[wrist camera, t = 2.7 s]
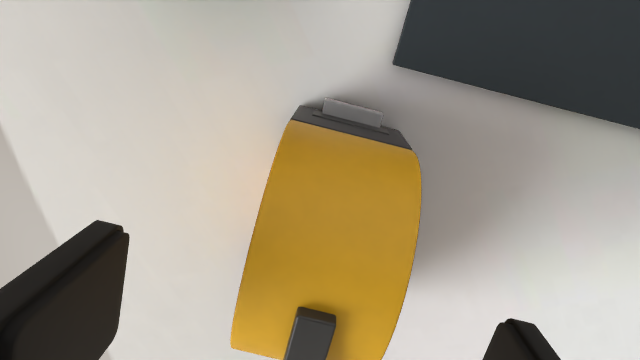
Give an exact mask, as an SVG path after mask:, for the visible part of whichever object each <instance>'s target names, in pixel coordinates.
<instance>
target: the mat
mask: <svg viewBox="0 0 640 360" xmlns="http://www.w3.org/2000/svg"><path fill="white" fill-rule="evenodd" d="M393 65H397V66H400V67H404V68H408V69H412V70H416V71H420V72H423V73H427V74H431V75H435V76H439V77H443V78H446V79H450V80H454V81H458V82H462V83H465V84H469V85H473V86H477V87H481V88H485V89H488V90H492V91H496V92H500V93H504V94H508V95H511V96H515V97H519V98H523V99H527V100H531V101H534V102H538V103H542V104H546V105H550V106H554V107H557V108H561V109H565V110H569V111H573V112H577V113H580V114H584V115H588V116H592V117H596V118H600V119H603V120H607V121H611V122H615V123H619V124H623V125H626V126H630V127H634V128H638V129H640V0H411V2H410V5H409V9H408V12H407V16H406V19H405V23H404V26H403V29H402V33H401V36H400V40H399V43H398V47H397V50H396V54H395V57H394V60H393Z"/></svg>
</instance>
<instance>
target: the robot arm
mask: <svg viewBox="0 0 640 360" xmlns="http://www.w3.org/2000/svg"><path fill="white" fill-rule="evenodd" d="M128 246H129V234H128V233H124V232H123V227H122V226H120V225H116V224H112V223H108V222H104V221H99V220H97V221H94V222H93V223H92V224H90V225H89V226H87V227H86V228H85V229H83V230H82V231H80V232H79V233H78V234H76V235H75V236H73V237H72V238H71V239H69V240H68V241H66V242H65V243H64V244H62V245H61V246H59V247H58V248H57V249H55V250H54V251H52V252H51V253H50V254H49V255H47V256H46V257H44V258H43V259H41V260H40V261H39V262H37V263H36V264H35V265H33V266H32V267H30V268H29V269H27V270H26V271H25V272H23V273H22V274H20V275H19V276H18V277H16V278H15V279H13V280H12V281H11V282H9V283H8V284H6V285H5V286H4V287H2V288H1V289H0V360H99V358H100V357H101V356H102V354H103V353H104V352H105V350H106V349H107V348H108V346H109V345H110V344H111V342H112V341H113V339H114V337H115V335H116V333H117V329H118V324H119V317H120V309H121V301H122V293H123V285H124V277H125V270H126V262H127V254H128ZM483 360H561V359H560V358H559V357H558V355H557V354H556V353H555V351H554V350H553V348H552V347H551V346H550V344H549V343H548V342H547V340H546V339H545V338H544V336H543V335H542V334H541V332H540V331H539V329H538V328H537V327H536V326H535V325H534V324H532V323H528V322H524V321H520V320H515V319H511V318H510V319H507V320H506V321H505V323H503V322H502V323H500V324H499V325H498V326H497V328H496V330H495V332H494V335H493V337H492V339H491V342H490V344H489V346H488V348H487V351H486V353H485V355H484V358H483Z"/></svg>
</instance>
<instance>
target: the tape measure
mask: <svg viewBox="0 0 640 360" xmlns="http://www.w3.org/2000/svg"><path fill="white" fill-rule="evenodd" d="M382 118H383V114H382V112H380V111H376V110H372V109H368V108H365V107H361V106H357V105H353V104H349V103H345V102H341V101H337V100H333V99H330V98H325V101H324V105H323V109H322V111H321V110H317V109H313V108H309V107H305V106H299V107H298V109H297V110H296V112H295V113H294V115H293V116H292V118H291V119H290V121H289V122H288V124H287V126H286V128H285V130H284V133H283V135H282V138H281V140H280V143H279V146H278V149H277V152H276V155H275V158H274V161H273V164H272V167H271V171H270V174H269V177H268V180H267V184H266V187H265V191H264V194H263V198H262V201H261V205H260V208H259V212H258V216H257V219H256V223H255V227H254V231H253V235H252V238H251V242H250V246H249V250H248V254H247V258H246V263H245V267H244V271H243V275H242V280H241V284H240V289H239V293H238V298H237V303H236V308H235V313H234V318H233V324H232V331H231V342H230V343H231V348H233V349H237V350H241V351H246V352H250V353H254V354H258V355H263V356H267V357H271V358H275V359H280V360H381V359H382V357H383V356H384V354H385V351H386V349H387V347H388V345H389V343H390V340H391V338H392V335H393V333H394V330H395V327H396V324H397V321H398V318H399V315H400V312H401V309H402V305H403V302H404V298H405V295H406V291H407V287H408V283H409V279H410V275H411V270H412V265H413V260H414V255H415V249H416V243H417V237H418V229H419V221H420V210H421V172H420V165H419V161H418V158H417V156H416V154H415V153H414V152H413V151H412V149H411V147H410V146H409V144H408V143H407V141H406V140H405V139H404V137H403V136H402V134H401V133H400V131H398V130H395V129H391V128H387V127H383V126H380V125H381V122H382Z"/></svg>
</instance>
